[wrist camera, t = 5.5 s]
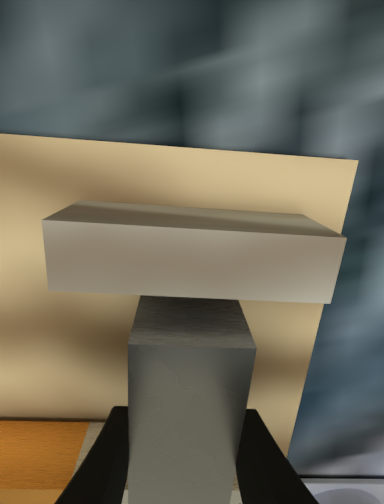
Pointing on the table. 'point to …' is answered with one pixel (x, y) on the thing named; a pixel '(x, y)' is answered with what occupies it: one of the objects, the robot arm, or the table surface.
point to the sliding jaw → (48, 459)
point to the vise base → (99, 325)
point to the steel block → (186, 398)
